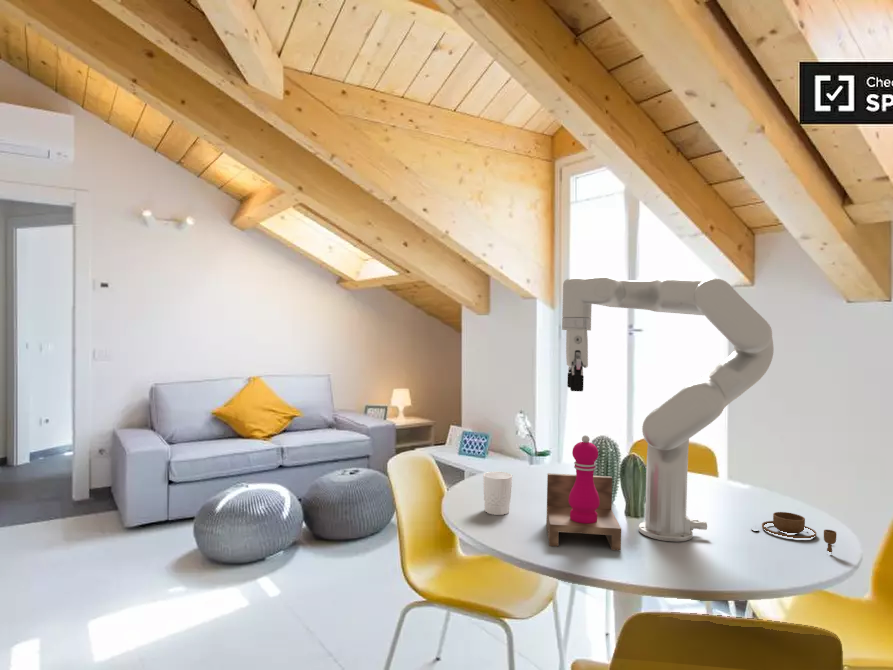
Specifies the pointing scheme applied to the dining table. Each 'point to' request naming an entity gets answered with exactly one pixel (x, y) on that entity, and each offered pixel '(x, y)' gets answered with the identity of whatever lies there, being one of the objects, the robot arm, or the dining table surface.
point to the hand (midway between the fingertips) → (575, 389)
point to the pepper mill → (584, 483)
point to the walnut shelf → (561, 508)
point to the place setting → (797, 527)
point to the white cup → (497, 492)
